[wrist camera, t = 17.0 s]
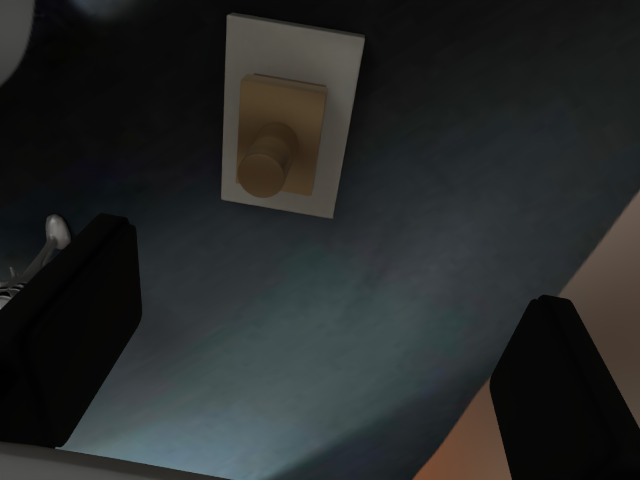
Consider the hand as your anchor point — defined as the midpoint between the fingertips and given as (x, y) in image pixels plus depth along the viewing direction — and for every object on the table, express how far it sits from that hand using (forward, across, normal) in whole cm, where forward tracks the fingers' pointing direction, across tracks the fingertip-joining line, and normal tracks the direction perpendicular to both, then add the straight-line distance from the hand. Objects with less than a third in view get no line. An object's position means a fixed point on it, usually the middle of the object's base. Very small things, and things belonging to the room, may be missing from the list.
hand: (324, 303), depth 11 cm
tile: (+21, +4, +4) cm, 22 cm away
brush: (+20, +4, +3) cm, 21 cm away
